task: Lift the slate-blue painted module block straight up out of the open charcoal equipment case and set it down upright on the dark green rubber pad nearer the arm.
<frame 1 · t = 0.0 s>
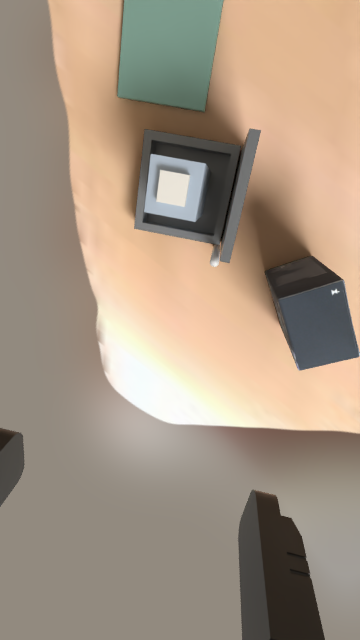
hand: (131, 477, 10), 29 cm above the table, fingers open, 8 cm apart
module: (186, 190, 33), resting on case
box: (295, 292, 37), on the table
pad: (168, 49, 29), on the table
case: (186, 190, 34), on the table
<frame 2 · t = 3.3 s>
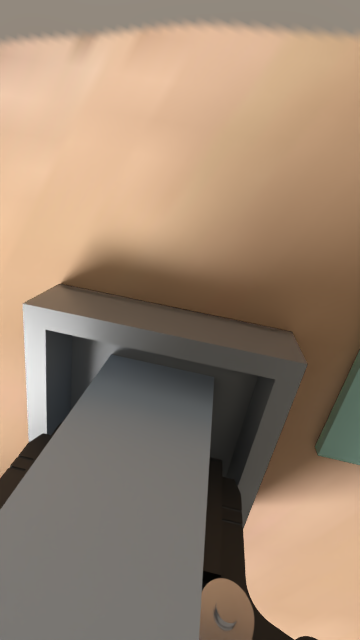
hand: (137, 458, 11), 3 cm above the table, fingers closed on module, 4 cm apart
module: (155, 407, 14), resting on case, touching gripper
case: (156, 401, 14), on the table
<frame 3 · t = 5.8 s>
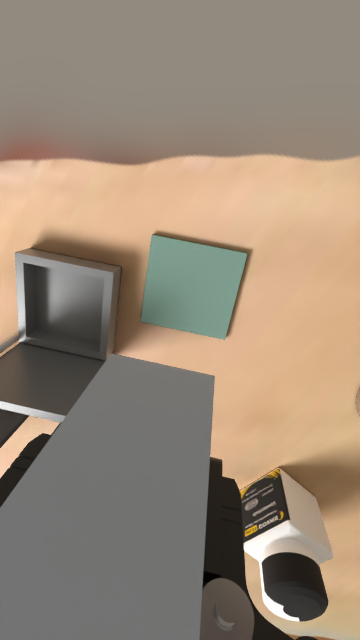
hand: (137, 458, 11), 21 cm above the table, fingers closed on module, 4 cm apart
module: (155, 406, 14), point 18 cm above the table, touching gripper
box: (4, 394, 39), on the table
pad: (190, 288, 30), on the table
case: (74, 301, 32), on the table
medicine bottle: (275, 492, 40), on the table
when the fingers open (4 cm above the table, at t = 8.8 s): module drops 1 cm, resting on pad.
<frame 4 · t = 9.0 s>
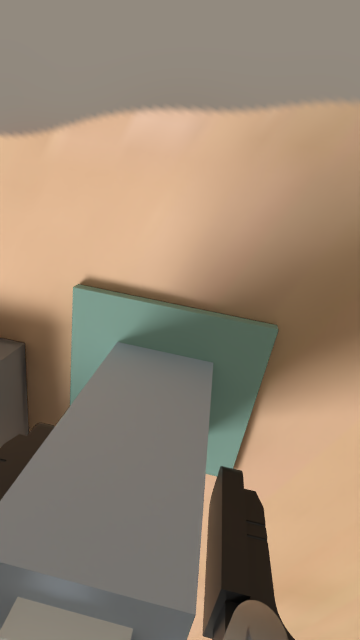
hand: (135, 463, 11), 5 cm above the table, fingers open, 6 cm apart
module: (158, 392, 15), point 1 cm above the table, touching pad
pad: (161, 387, 15), on the table
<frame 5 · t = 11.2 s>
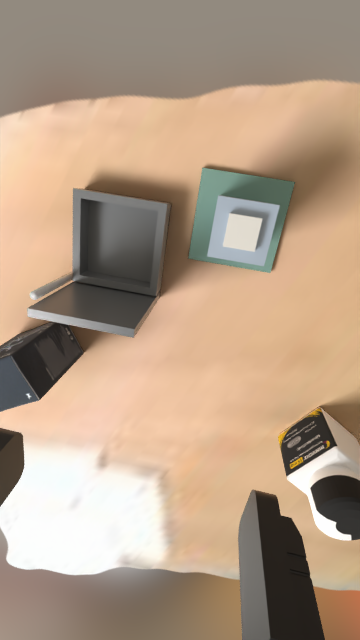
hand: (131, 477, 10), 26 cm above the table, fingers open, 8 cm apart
module: (237, 222, 31), resting on pad
box: (51, 342, 41), on the table
pad: (237, 222, 32), on the table
case: (123, 241, 34), on the table
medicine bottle: (315, 435, 41), on the table
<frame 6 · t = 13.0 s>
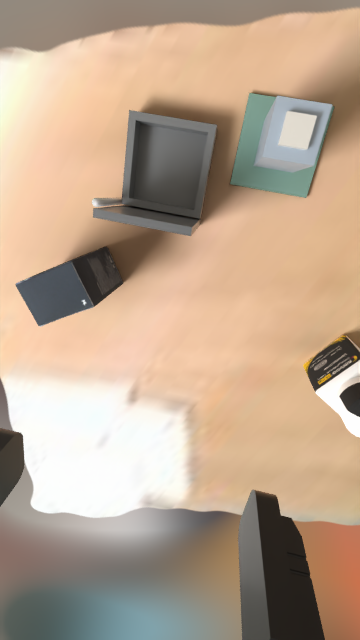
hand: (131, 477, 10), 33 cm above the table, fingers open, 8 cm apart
module: (278, 147, 34), resting on pad
box: (92, 273, 43), on the table
pad: (278, 148, 34), on the table
case: (169, 168, 37), on the table
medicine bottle: (338, 364, 44), on the table
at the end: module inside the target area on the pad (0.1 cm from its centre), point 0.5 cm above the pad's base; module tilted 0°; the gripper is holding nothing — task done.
